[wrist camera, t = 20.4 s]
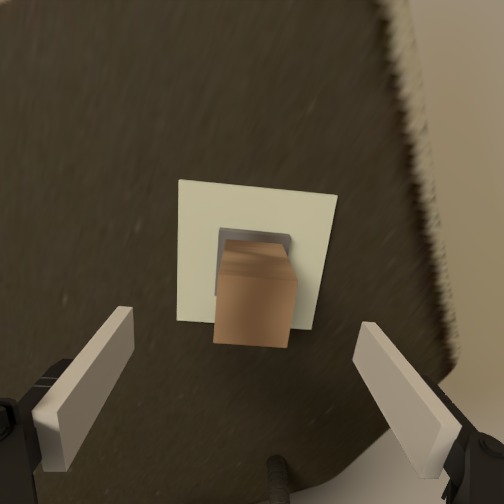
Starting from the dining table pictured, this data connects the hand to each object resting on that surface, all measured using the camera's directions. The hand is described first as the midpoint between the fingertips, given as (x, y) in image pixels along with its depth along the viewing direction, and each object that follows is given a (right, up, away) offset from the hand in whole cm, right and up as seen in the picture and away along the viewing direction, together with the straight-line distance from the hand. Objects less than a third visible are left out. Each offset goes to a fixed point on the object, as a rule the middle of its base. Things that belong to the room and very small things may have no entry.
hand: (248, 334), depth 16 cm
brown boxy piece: (0, +4, +10) cm, 11 cm away
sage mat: (0, +4, +11) cm, 12 cm away
